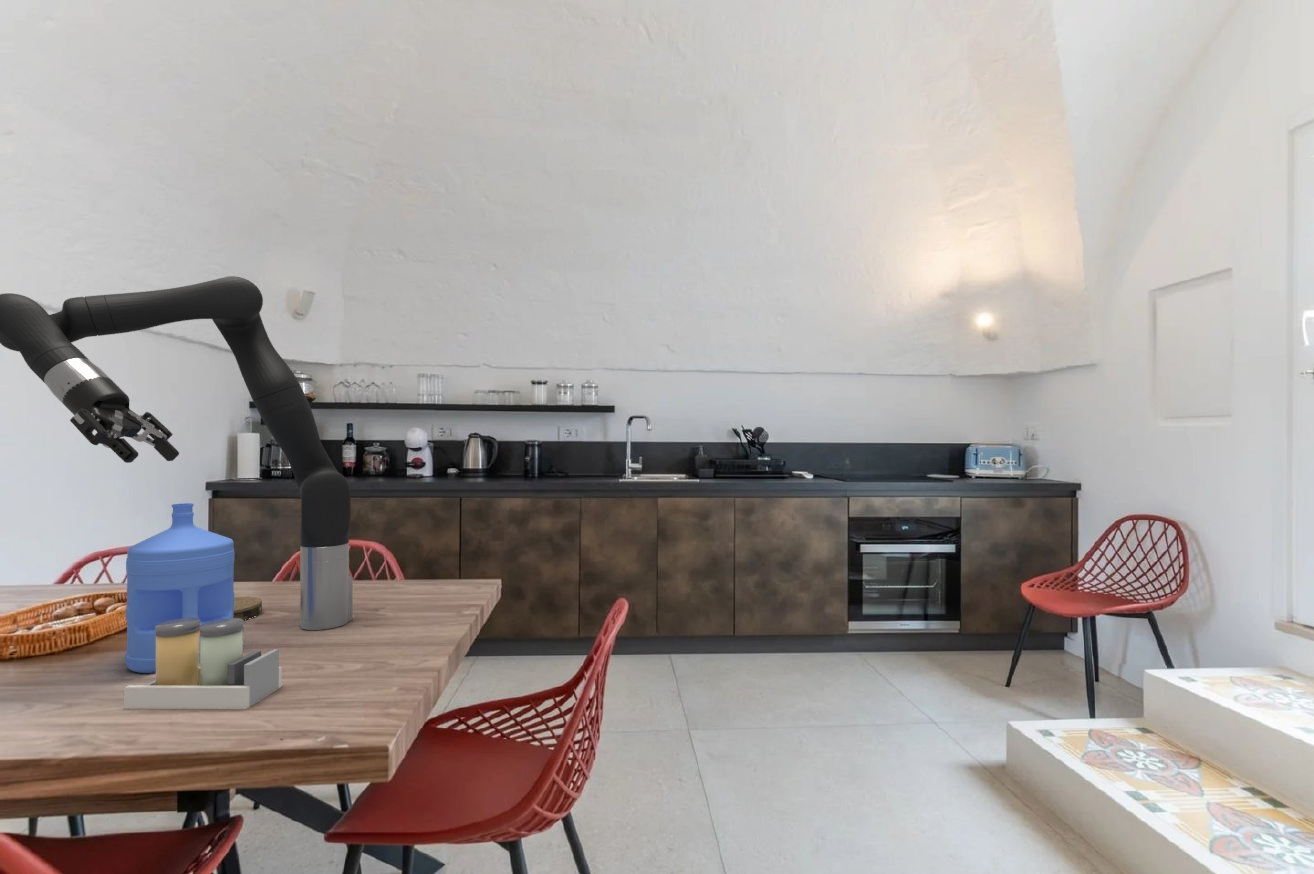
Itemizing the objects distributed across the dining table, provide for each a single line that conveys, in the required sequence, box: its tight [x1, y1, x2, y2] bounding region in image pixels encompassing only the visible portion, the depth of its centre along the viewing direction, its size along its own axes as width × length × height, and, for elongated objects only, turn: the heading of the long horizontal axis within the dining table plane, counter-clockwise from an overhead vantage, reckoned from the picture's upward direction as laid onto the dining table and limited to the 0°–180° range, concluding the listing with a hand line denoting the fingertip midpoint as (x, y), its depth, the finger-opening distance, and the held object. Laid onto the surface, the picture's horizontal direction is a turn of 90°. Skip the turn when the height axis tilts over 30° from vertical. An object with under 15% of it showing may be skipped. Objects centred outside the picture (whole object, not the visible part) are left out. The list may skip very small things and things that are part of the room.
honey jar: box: [154, 618, 200, 686], centre depth 94 cm, size 5×5×11 cm
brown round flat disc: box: [233, 596, 263, 620], centre depth 140 cm, size 16×16×3 cm
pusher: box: [227, 650, 262, 686], centre depth 94 cm, size 2×6×6 cm, turn 179°
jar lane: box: [123, 648, 283, 710], centre depth 94 cm, size 18×8×7 cm, turn 89°
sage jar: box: [199, 618, 245, 686], centre depth 94 cm, size 5×5×11 cm
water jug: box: [124, 502, 236, 674], centre depth 113 cm, size 16×16×28 cm
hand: (154, 458), depth 106 cm, fingers open, 8 cm apart
